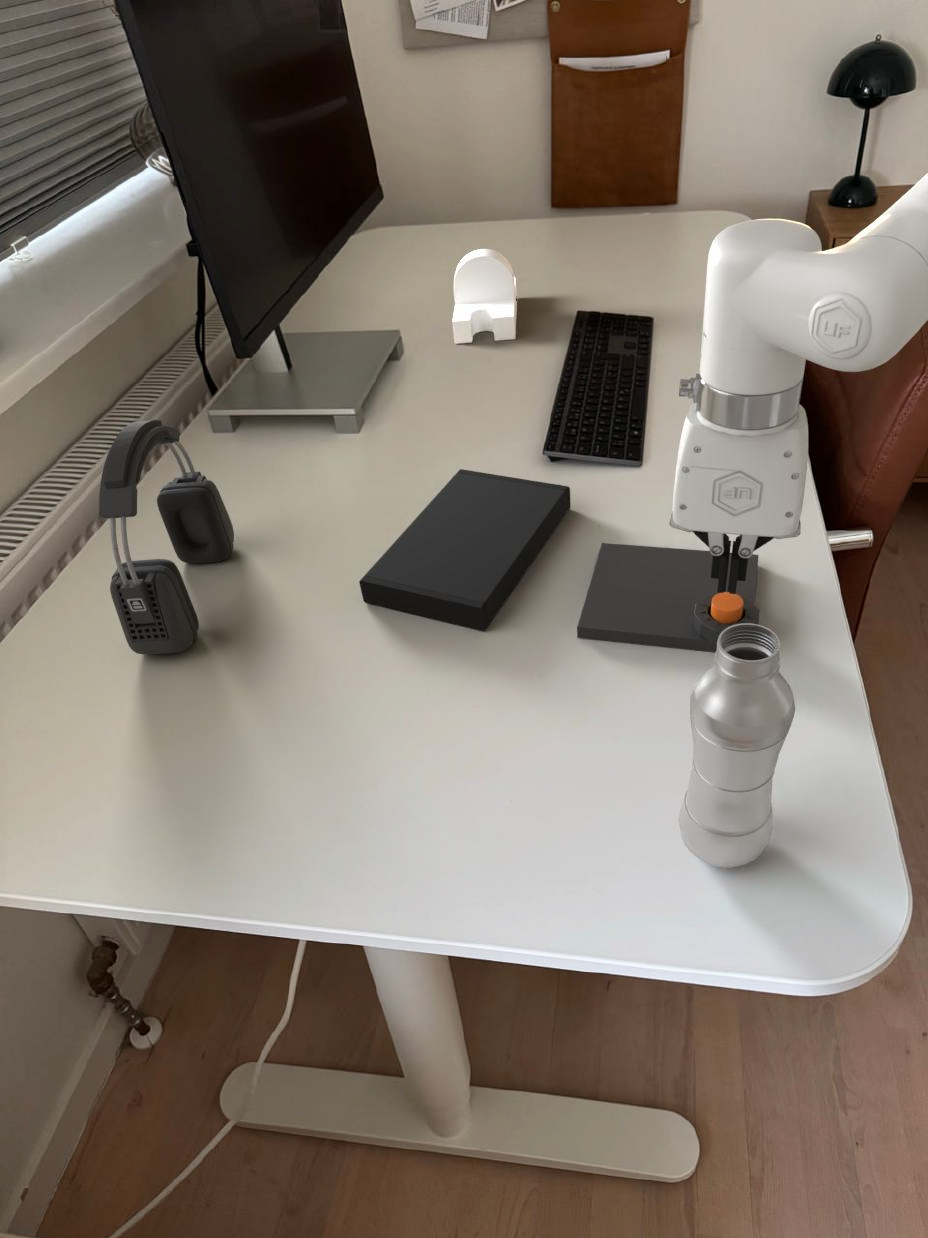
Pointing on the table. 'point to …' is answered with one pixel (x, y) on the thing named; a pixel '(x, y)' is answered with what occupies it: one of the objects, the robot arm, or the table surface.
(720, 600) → the button
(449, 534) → the external hard drive
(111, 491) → the headphones
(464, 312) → the block with arch cutout
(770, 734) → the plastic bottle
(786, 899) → the table surface
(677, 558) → the scale
